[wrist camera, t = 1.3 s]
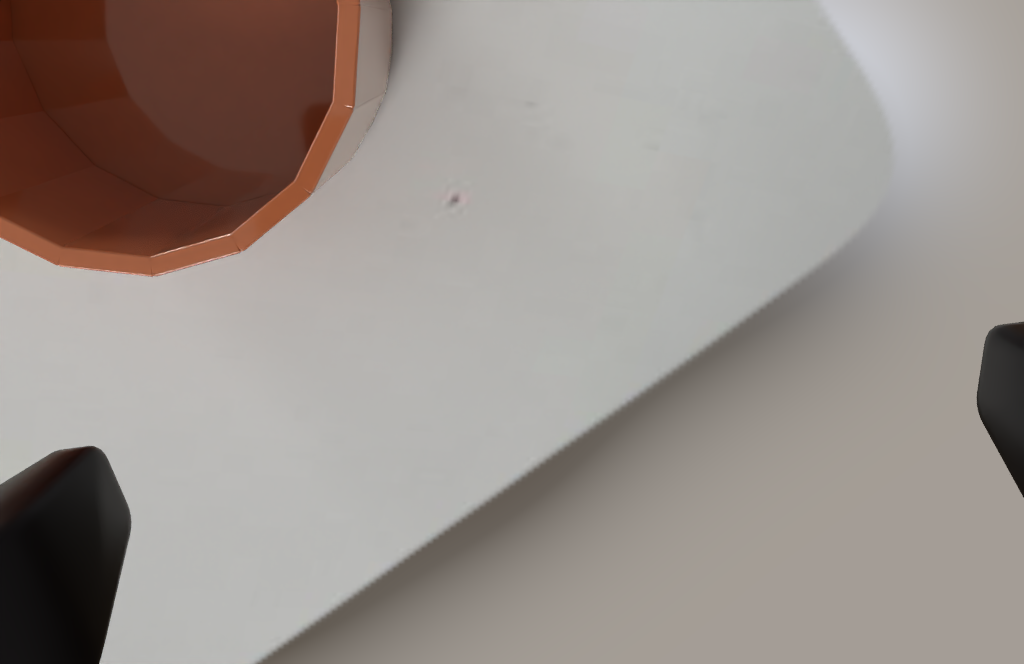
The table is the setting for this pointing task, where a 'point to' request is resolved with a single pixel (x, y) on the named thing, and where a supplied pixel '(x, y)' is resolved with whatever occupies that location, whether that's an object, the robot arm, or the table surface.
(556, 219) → the table surface
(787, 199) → the table surface
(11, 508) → the robot arm
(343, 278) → the table surface
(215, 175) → the cup
